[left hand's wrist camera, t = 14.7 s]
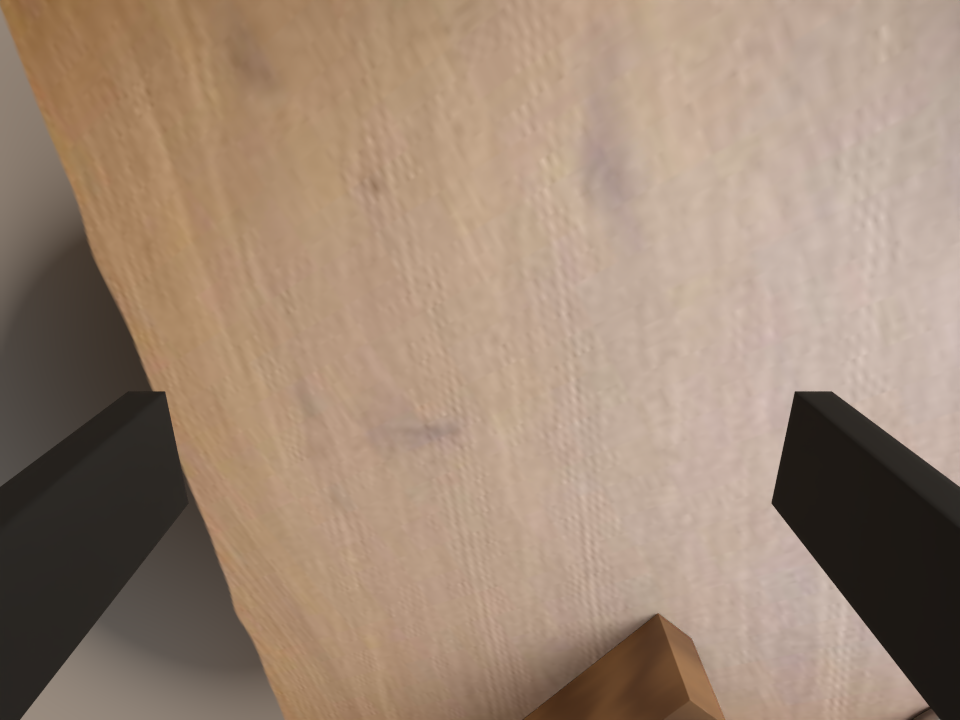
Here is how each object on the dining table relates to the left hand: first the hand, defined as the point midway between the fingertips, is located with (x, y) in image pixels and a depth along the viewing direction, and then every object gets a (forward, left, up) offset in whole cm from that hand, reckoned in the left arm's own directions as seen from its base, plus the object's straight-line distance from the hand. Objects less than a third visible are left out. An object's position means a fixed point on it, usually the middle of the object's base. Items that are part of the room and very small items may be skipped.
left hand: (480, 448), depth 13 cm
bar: (+45, +10, -31) cm, 56 cm away
